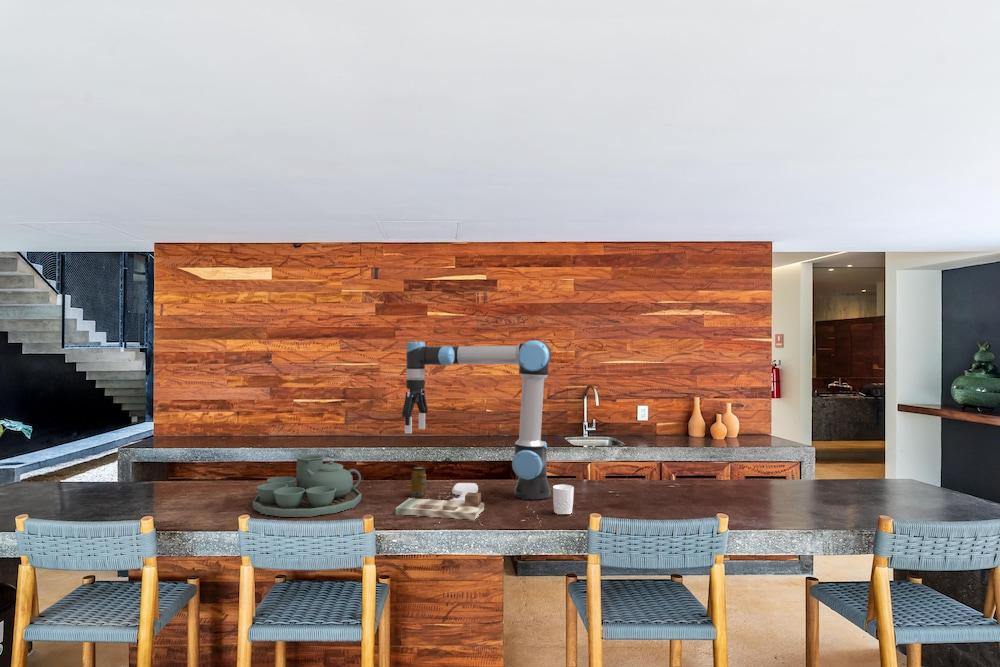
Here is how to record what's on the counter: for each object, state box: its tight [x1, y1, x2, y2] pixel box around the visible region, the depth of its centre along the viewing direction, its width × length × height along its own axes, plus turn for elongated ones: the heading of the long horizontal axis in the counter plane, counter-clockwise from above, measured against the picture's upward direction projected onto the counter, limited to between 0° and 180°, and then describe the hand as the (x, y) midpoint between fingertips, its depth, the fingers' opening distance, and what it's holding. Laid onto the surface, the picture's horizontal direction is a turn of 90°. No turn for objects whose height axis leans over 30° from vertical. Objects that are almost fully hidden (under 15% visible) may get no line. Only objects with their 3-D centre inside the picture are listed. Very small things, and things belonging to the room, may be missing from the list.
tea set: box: [252, 453, 362, 516], centre depth 239 cm, size 40×40×16 cm
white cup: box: [552, 484, 575, 514], centre depth 229 cm, size 8×8×10 cm
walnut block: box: [465, 492, 482, 507], centre depth 231 cm, size 5×5×4 cm
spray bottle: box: [449, 482, 479, 502], centre depth 255 cm, size 3×11×24 cm
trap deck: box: [395, 497, 485, 521], centre depth 230 cm, size 30×15×2 cm, turn 79°
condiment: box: [410, 466, 427, 498], centre depth 252 cm, size 7×8×12 cm
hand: (415, 431), depth 251 cm, fingers open, 13 cm apart
